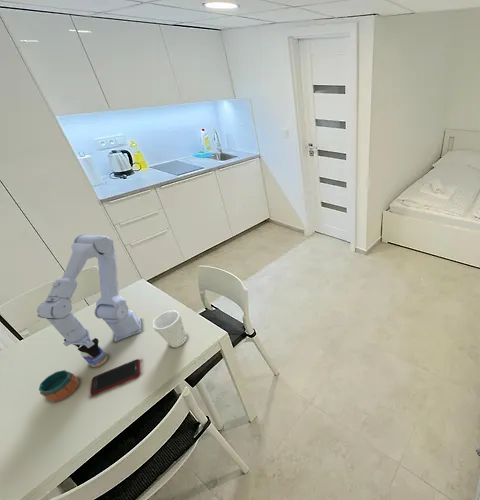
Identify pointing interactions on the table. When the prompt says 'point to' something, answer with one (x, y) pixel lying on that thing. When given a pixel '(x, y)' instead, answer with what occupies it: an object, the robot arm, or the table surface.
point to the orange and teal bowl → (58, 385)
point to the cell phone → (115, 376)
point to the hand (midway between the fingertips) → (91, 351)
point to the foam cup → (170, 328)
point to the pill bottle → (94, 361)
